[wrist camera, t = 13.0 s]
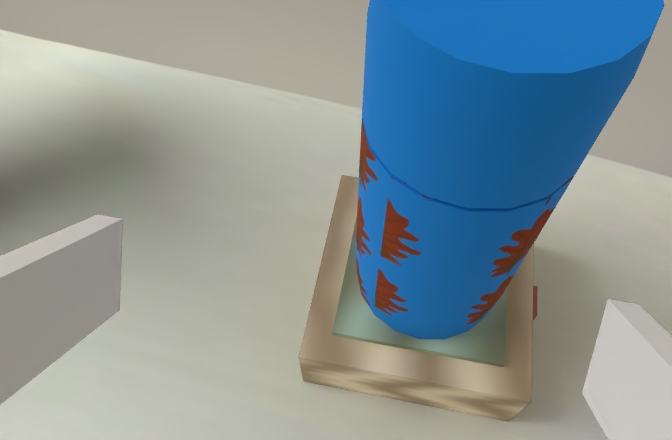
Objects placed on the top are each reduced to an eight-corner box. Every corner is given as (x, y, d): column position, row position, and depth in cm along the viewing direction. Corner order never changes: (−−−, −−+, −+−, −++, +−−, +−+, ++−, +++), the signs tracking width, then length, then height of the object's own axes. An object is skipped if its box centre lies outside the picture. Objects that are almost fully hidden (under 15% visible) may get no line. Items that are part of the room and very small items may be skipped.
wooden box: (303, 380, 45) (298, 354, 39) (341, 213, 53) (341, 170, 47) (516, 422, 43) (543, 401, 37) (521, 242, 51) (544, 202, 45)
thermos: (490, 212, 45) (626, -106, 24) (510, 342, 39) (713, 78, 18) (353, 212, 45) (366, -107, 24) (354, 341, 39) (373, 77, 18)
